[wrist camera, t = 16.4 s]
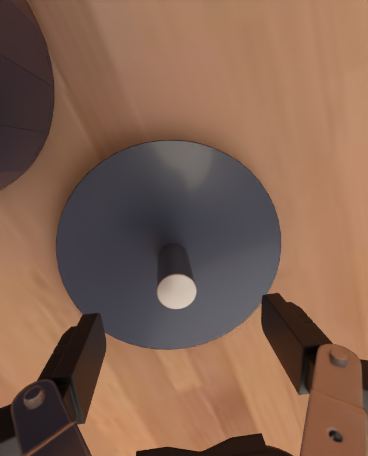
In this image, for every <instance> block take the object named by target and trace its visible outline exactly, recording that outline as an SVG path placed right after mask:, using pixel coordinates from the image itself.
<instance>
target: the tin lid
mask: <svg viewBox="0 0 368 456" xmlns="http://www.w3.org/2000/svg"><path fill="white" fill-rule="evenodd" d="M280 253H281V232H280V226H279V220H278V217H277V214H276V210H275V207H274V205H273V203H272V201H271V199H270V197H269V194H268V193H267V191H266V190H265V188H264V187H263V185H262V184H261V182H260V181H259V180H258V179H257V178H256V177H255V176H254V175H253V173H252V172H251V171H250V170H248V169H247V168H246V167H245V166H244V165H242V164H241V163H240V162H239V161H237V160H236V159H234V158H232V157H231V156H229V155H228V154H226V153H224V152H222V151H219V150H217V149H215V148H213V147H210V146H206V145H203V144H199V143H196V142H189V141H182V140H160V141H153V142H146V143H142V144H139V145H135V146H132V147H129V148H126V149H124V150H122V151H120V152H117V153H115V154H113V155H112V156H110V157H108V158H107V159H105V160H104V161H102V162H101V163H99V164H98V165H97V166H96V167H95V168H93V169H92V170H91V171H90V172H89V173H88V174H87V175H86V176H85V177H84V178H83V179H82V180H81V181H80V183H79V184H78V185H77V186H76V188H75V189H74V191H73V192H72V194H71V195H70V197H69V199H68V201H67V203H66V205H65V207H64V210H63V212H62V215H61V218H60V222H59V225H58V231H57V239H56V256H57V262H58V268H59V272H60V275H61V278H62V281H63V284H64V286H65V288H66V290H67V292H68V294H69V296H70V298H71V299H72V301H73V302H74V304H75V305H76V307H77V308H78V309H79V310H80V311H81V312H82V314H83V315H84V314H92V313H100V314H101V317H102V322H103V327H104V332H105V333H107V334H109V335H111V336H113V337H114V338H116V339H118V340H121V341H124V342H126V343H129V344H132V345H136V346H140V347H144V348H151V349H165V350H170V349H183V348H188V347H194V346H197V345H201V344H204V343H207V342H210V341H212V340H215V339H217V338H219V337H221V336H223V335H225V334H227V333H228V332H230V331H231V330H233V329H234V328H236V327H237V326H239V325H240V324H241V323H242V322H244V321H245V320H246V319H247V318H248V317H249V316H250V315H251V314H252V313H253V312H254V311H255V310H256V309H257V307H258V306H259V305H260V303H261V302H262V296H263V295H265V294H267V293H268V291H269V289H270V287H271V285H272V283H273V281H274V278H275V275H276V273H277V269H278V265H279V261H280Z"/></svg>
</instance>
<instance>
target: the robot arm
mask: <svg viewBox="0 0 368 456" xmlns="http://www.w3.org/2000/svg"><path fill="white" fill-rule="evenodd" d="M261 323H262V328H263V332H264V334H265V336H266V338H267V339H268V341H269V343H270V345H271V346H272V348H273V350H274V352H275V353H276V355H277V357H278V359H279V361H280V362H281V364H282V366H283V368H284V369H285V371H286V373H287V375H288V376H289V378H290V380H291V382H292V384H293V385H294V387H295V389H296V391H297V392H298V394H299V395H303V394H310V395H309V401H308V407H307V413H306V419H305V425H304V432H303V438H302V444H301V450H300V456H368V361H367V360H361V359H359V358H358V357H357V355H356V354H354V353H353V352H352V351H351V350H349V349H347V348H345V347H343V346H340V345H336V344H333V343H332V342H331V341H330V340H329V339H328V338H327V337H326V335H325V334H324V333H323V332H322V331H321V330H320V329H319V328H318V327H317V325H316V324H315V323H313V321H312V320H311V319H310V318H309V317H308V316H307V314H306V313H305V312H304V311H303V310H302V309H301V308H300V307H298V306H297V305H295V304H293V303H292V302H286V301H285V300H284V299H283V298H282V296H281V295H280V294H279V293H274V294H265V295H263V296H262V314H261ZM105 352H106V337H105V332H104V327H103V322H102V317H101V314H100V313H92V314H84V315H82V317H81V319H80V321H79V323H78V325H77V326H74V327H71V328H70V329H69V330H67V331H66V332H65V333H64V334H63V335H62V337H61V339H60V341H59V342H58V346H56V348H55V350H54V351H53V353H52V355H51V357H50V359H49V360H48V362H47V364H46V366H45V368H44V369H43V371H42V373H41V375H40V376H39V378H38V380H37V381H36V382H34V383H32V384H30V385H28V386H27V387H25V388H24V389H23V390H21V391H20V392H19V393H18V394H17V396H16V397H15V398H14V400H13V402H12V404H10V405H8V406H5V407H2V408H0V456H92V455H91V453H90V451H89V449H88V447H87V445H86V443H85V441H84V438H83V436H82V434H81V432H80V430H79V428H78V426H77V424H84V423H85V421H86V418H87V414H88V411H89V407H90V404H91V400H92V397H93V394H94V390H95V387H96V383H97V380H98V376H99V373H100V370H101V366H102V363H103V359H104V356H105ZM136 456H293V455H291V454H289V453H288V452H286V451H283V450H281V449H279V448H275V447H272V446H268V445H265V442H264V439H263V436H262V433H260V434H253V435H246V436H239V437H232V438H230V439H227V440H225V441H223V442H221V443H219V444H217V445H215V446H213V447H211V448H209V449H206V450H204V451H201V452H198V451H191V450H185V449H179V448H173V447H163V448H156V449H149V450H142V451H136Z"/></svg>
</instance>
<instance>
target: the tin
mask: <svg viewBox="0 0 368 456" xmlns="http://www.w3.org/2000/svg"><path fill="white" fill-rule="evenodd" d="M53 107H54V80H53V73H52V66H51V61H50V57H49V53H48V49H47V46H46V42H45V40H44V37H43V34H42V32H41V29H40V27H39V24H38V22H37V20H36V18H35V16H34V14H33V12H32V10H31V8H30V6H29V4H28V3H27V1H26V0H0V190H1V189H3V188H4V187H6V186H8V185H9V184H11V183H12V182H14V181H15V180H16V179H18V178H19V177H20V176H21V175H22V174H23V173H24V172H25V171H26V170H27V169H28V168H29V167H30V165H31V164H32V163H33V162H34V161H35V159H36V157H37V156H38V154H39V152H40V151H41V149H42V147H43V145H44V143H45V140H46V138H47V135H48V133H49V129H50V125H51V121H52V116H53Z"/></svg>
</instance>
